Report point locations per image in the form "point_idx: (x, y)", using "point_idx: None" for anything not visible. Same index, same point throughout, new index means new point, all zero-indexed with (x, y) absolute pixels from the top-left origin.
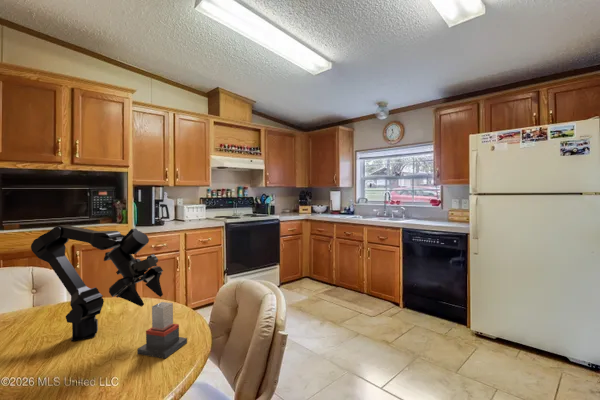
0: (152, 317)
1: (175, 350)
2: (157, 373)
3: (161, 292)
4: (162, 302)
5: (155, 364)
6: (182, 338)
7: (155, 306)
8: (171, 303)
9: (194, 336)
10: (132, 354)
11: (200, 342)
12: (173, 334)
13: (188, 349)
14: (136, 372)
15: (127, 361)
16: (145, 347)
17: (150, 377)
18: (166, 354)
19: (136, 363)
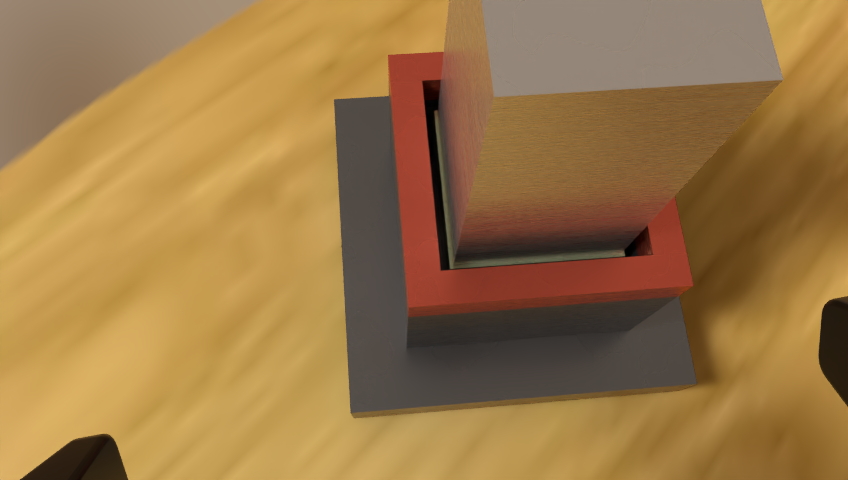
0: (691, 168)
1: None
2: (771, 26)
3: (65, 466)
4: (514, 59)
5: None
6: (354, 132)
7: (745, 19)
8: None
9: (197, 151)
10: (693, 443)
11: (285, 33)
12: None
13: (422, 47)
14: (843, 168)
15: (790, 376)
16: (639, 329)
17: (826, 34)
18: None
19: (769, 273)
